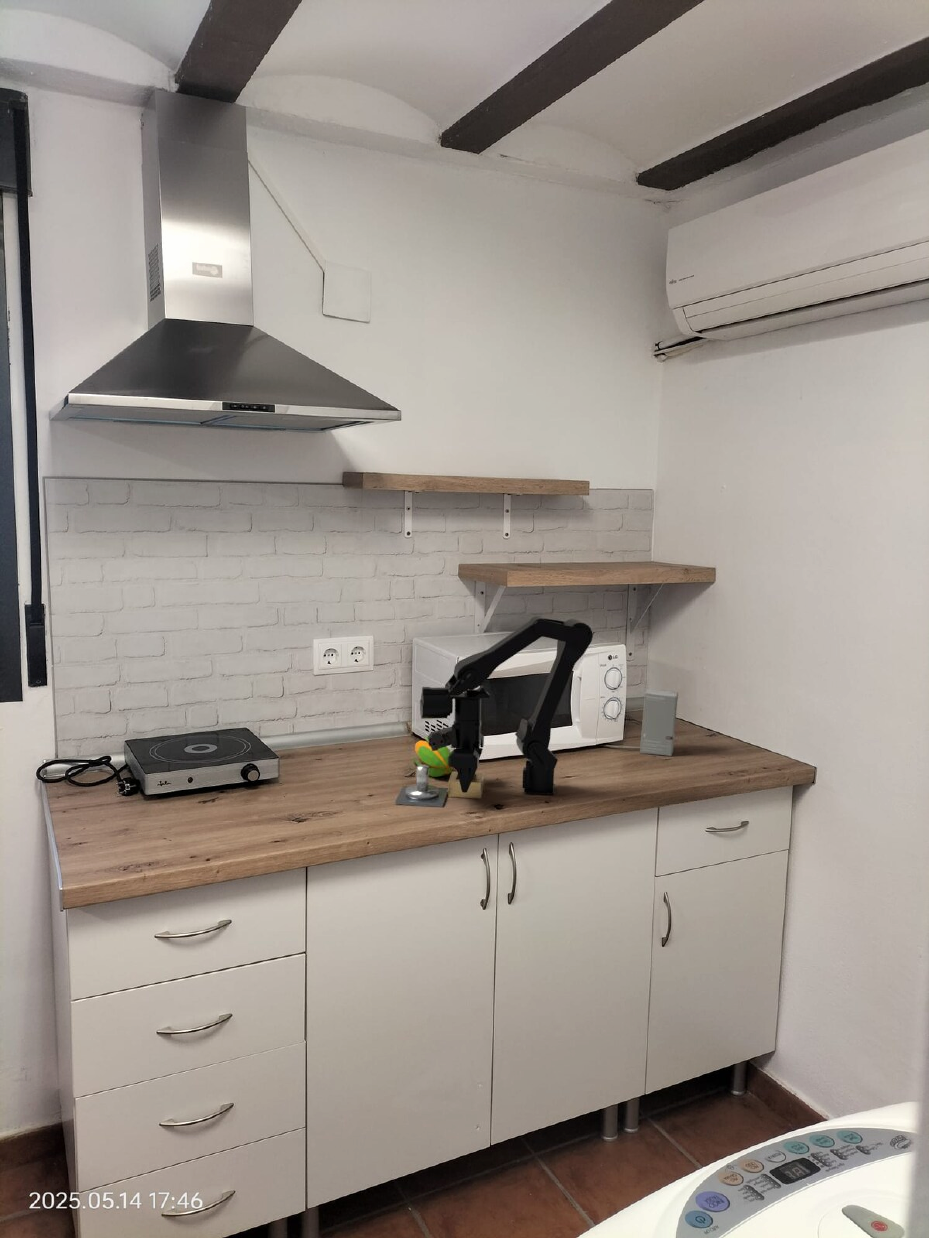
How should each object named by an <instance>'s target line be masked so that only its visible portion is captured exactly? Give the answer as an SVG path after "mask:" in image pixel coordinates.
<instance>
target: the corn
mask: <svg viewBox="0 0 929 1238" xmlns="http://www.w3.org/2000/svg"><path fill="white" fill-rule="evenodd" d="M424 738H425V739H426V740H427V741H426V740H419V741H417V742H416V743H415V746H414V750H415V753H416V755H417V757H418V759H419V761H420V762H421V763H420V762H419V761H417V760H416V759H415V758H414V757H413V756H412V755H411V756H410V757H411V759H412V761H413V762H414V763H415V764H416V766H418V765H428V766H429V776H430V777H432V778H436V777H438V778H439V777H442V776H443V777H446V776H448V775H449V774H451V773H452V772H453V771H454V770H455V769H454V768H453V767H450V766H448V757H449V754H450V752H451V750H450V749H449V747H448V746H446V747H443V748H440V749H438V750H436V751H432V749H431V746H429V741H428V736H425V737H424Z"/></svg>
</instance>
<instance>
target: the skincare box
mask: <svg viewBox="0 0 929 1238" xmlns="http://www.w3.org/2000/svg"><path fill="white" fill-rule="evenodd" d="M643 699H644V702H643V710H642V724H641V733H640V745H639V752H640V754H646V755H647V754H648V755H657V756H668V757H673V756H672V755H673V752H674V744H675V743H674V742H675V732H676V721H677V710H678V709H677V708H678V699H679V692H675V691H674V692H673V691H666V690H658V689H649V688H647V689H646V691H645V693H644V698H643Z"/></svg>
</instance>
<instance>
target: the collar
mask: <svg viewBox="0 0 929 1238" xmlns="http://www.w3.org/2000/svg"><path fill="white" fill-rule="evenodd" d="M447 788H448V793H447V795H448V798H463V799H464V798H465V799H466V798H467V799H468V798H469V799H481V797H482V794H483V791H484V790H483V789H484V772H475V774H474V777H473V779H472V781H471V784H470V786H469V789H468V791H467V793H463V792H462V790H461V786H460V781H459V777H458V772H457V771H452V772H451V773H450V776H449V779H448V787H447Z"/></svg>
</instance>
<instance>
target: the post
mask: <svg viewBox="0 0 929 1238" xmlns="http://www.w3.org/2000/svg"><path fill="white" fill-rule="evenodd" d="M429 776H430V775H429V766H428V765H424V764H422V765H416V784H413V785H403V786H402V788H401V790H400V791H399V793H398V794H397V797H396V799H395V802H394V803H395V805H396V804H402V805H403V806H419V807H420V806H421V807H438V808H439V807H440V808H443V806H444V804H445V801H446V798H447V795H448V788H449V787H437V786H435V785H432V784H429V783H430V782H429V780H430V779H429V778H430V777H429ZM402 805H401V806H402Z"/></svg>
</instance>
